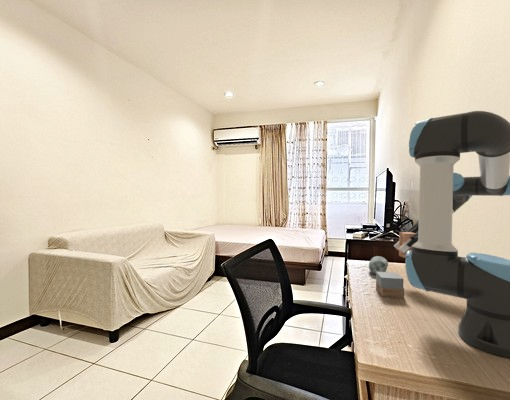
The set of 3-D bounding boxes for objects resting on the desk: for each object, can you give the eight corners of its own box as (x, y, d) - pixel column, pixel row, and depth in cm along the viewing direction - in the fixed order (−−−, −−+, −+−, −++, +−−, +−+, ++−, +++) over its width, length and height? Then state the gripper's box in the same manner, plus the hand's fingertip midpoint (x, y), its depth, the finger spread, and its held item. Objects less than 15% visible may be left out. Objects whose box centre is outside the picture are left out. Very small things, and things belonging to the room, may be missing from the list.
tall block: (415, 258, 114) (416, 233, 114) (403, 258, 115) (404, 233, 115) (410, 255, 119) (411, 232, 119) (399, 255, 120) (399, 231, 120)
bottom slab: (404, 298, 101) (404, 288, 101) (382, 297, 102) (382, 287, 102) (395, 291, 109) (396, 281, 109) (375, 290, 110) (376, 281, 110)
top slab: (403, 289, 100) (403, 278, 100) (381, 287, 102) (381, 277, 102) (396, 282, 108) (396, 272, 108) (376, 280, 110) (376, 271, 110)
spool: (390, 272, 124) (380, 252, 128) (371, 278, 128) (362, 258, 132) (394, 272, 134) (385, 253, 139) (376, 277, 138) (368, 259, 143)
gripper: (457, 221, 106) (414, 260, 108) (433, 218, 124) (396, 251, 126) (443, 208, 106) (400, 247, 109) (421, 207, 124) (385, 240, 127)
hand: (398, 249), depth 117 cm, fingers closed on tall block, 5 cm apart
